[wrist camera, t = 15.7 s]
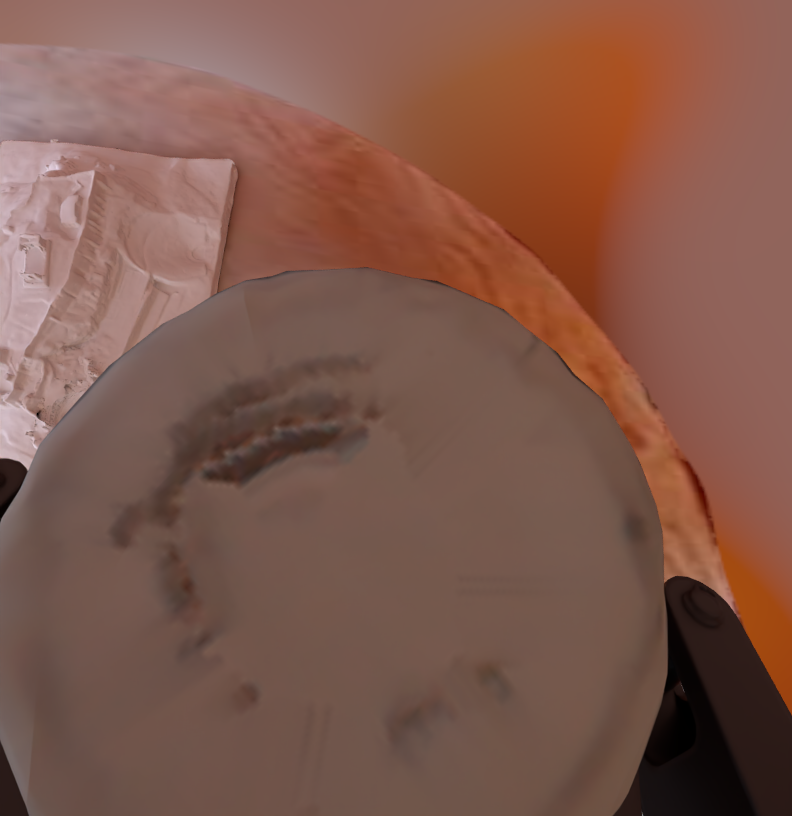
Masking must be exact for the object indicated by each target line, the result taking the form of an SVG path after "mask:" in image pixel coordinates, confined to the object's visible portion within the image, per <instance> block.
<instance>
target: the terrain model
mask: <svg viewBox="0 0 792 816" xmlns="http://www.w3.org/2000/svg"><path fill="white" fill-rule="evenodd" d="M57 142H58V140H53V139H52V140H51V143H43V142H32V141H15V140H14V141H10V140H9V141H2V143H1V145H0V458H9V459H12V460H16V461H19V462H21V463H22V464H23V465H24V466H25V467H26V468H27V470H29V468H30V465H31V463H32V461H33V458H34V456H35V454H36V451H37V449H38V447H39V445H40V443H41V442H42V441H43V440H44V439H45V437H46V436H47V435H48V434H49V433H50V432H51V430H52V429H53V428H54V427H55V426H56V425H57V423H58V422H59V421H60V420H61V419H62V418H63V416H64V415H65V414H66V413H67V412H68V411H69V409H70V408H71V407H72V406H73V405H74V404H75V403H76V402H77V401H78V399H79V398H80V397H81V396H82V395H83V394H84V393H85V392H86V391H87V389H88V388H89V387H90V386H91V385H92V384H93V383H94V382H95V381H96V379H97V378H98V377H99V376H100V375H101V374H102V373H103V372H104V371H105V370H106V368H107V367H108V366H109V365H111V364H112V363H113V362H114V361H116V360H117V359H118V358H120V357H121V356H122V355H123V354H125V353H126V352H127V351H128V350H130V349H131V348H132V347H134V346H135V345H136V344H137V343H139V342H140V341H141V340H142V339H144V338H145V337H146V336H148V335H149V334H150V333H151V332H153V331H154V330H155V329H156V328H158V327H159V326H160V325H162V324H163V323H165V322H167V321H169V320H171V319H173V318H175V317H177V316H179V315H181V314H183V313H185V312H187V311H189V310H190V309H192V308H194V307H195V306H197V305H198V304H200V303H201V302H203V301H205V300H206V299H208V298H209V297H211V296H213V295H214V294H216V293H217V290H218V282H219V280H218V279H219V277H220V268H221V264H222V260H223V254H224V248H225V243H226V236H227V230H228V225H229V218H230V213H231V209H232V205H233V202H234V201H233V199H234V198H233V196H234V190H235V186H236V181H237V180H238V172H237V168H236V167H235V163H234V162H233V161H231V159H230V158H229V159H205V158H201V159H184V158H171V157H162V156H156V155H152V154H146V153H140V152H130V151H125V150H119V149H118V148H116V149H112V148H106V147H97V146H88V145H81V144H74V143H57ZM230 220H231V219H230ZM39 411H40V412H39ZM37 412H38V413H39V416H36V415H37V414H36V413H37Z"/></svg>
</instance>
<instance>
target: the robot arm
mask: <svg viewBox="0 0 792 816" xmlns="http://www.w3.org/2000/svg"><path fill="white" fill-rule="evenodd" d="M27 472H28V470H27V468H26V467H25V466H24V465H23V464H22V463H21V462H19V461H16V460H12V459H9V458H0V522H1V519H2V517H3V515H4V514H5V512H6V511H7V509H8V507H9V506H10V504H11V503H12V501H13V500H14V498H15V496H16V495H17V493H18V492H19V490H20V488H21V486H22V484H23V481H24V479H25V477H26V475H27ZM664 595H665V603H666V610H667V618H668V668H667V678H666V683H665V688H664V693H663V698H662V703H661V706H660V709H659V712H658V715H657V717H656V720H655V723H654V726H653V729H652V732H651V735H650V737H649V740H648V743H647V746H646V749H645V752H644V754H643V757H642V760H641V762H640V765H639V767H638V770H637V772H636V775H635V777H634V780H633V783H632V785H631V788H630V790H629V793H628V794H627V796H626V798H625V800H624V801H623V803H622V805H621V806H620V808H619V809H618V810H617V812H616V813H615V814H614V815H613V816H642V813H643V816H792V715H791V713H790V712H789V710H788V708H787V706H786V704H785V702H784V701H783V699H782V697H781V695H780V694H779V692H778V690H777V688H776V686H775V684H774V683H773V681H772V679H771V677H770V675H769V674H768V672H767V670H766V668H765V666H764V664H763V663H762V661H761V659H760V657H759V656H758V654H757V652H756V650H755V648H754V647H753V645H752V643H751V641H750V639H749V637H748V636H747V634H746V632H745V630H744V628H743V627H742V625H741V623H740V621H739V619H738V617H737V616H736V614H735V613H734V612H733V610H732V609H731V607H730V606H729V605H728V603H727V602H726V601H725V600H724V599H723V598H722V597H720V596H719V595H718V594H717V593H716V592H715V591H714V590H712V589H711V588H709V587H708V586H706V585H704V584H703V583H701V582H699V581H697V580H694V579H692V578H689V577H683V576H675V577H673V578H671V579H668V580H667V581H666V582H665V583H664ZM681 685H682V686H681ZM682 687H683V688H682ZM683 690H684V691H683ZM684 692H685V693H684ZM0 816H29V814H28V811H27V808H26V805H25V802H24V800H23V797H22V795H21V792H20V790H19V787H18V784H17V782H16V779H15V777H14V774H13V772H12V769H11V767H10V764H9V761H8V759H7V756H6V754H5V751H4V749H3V746H2V744H1V741H0Z"/></svg>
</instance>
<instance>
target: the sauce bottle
mask: <svg viewBox="0 0 792 816" xmlns="http://www.w3.org/2000/svg"><path fill="white" fill-rule="evenodd" d="M667 668H668V618H667V610H666V603H665V595H664V554H663V536H662V528H661V523H660V519H659V515H658V511H657V507H656V503H655V501H654V498H653V496H652V493H651V490H650V488H649V485H648V483H647V480H646V477H645V475H644V472H643V470H642V467H641V464H640V462H639V460H638V458H637V456H636V454H635V452H634V450H633V448H632V446H631V444H630V443H629V441H628V439H627V438H626V436H625V434H624V433H623V431H622V429H621V428H620V426H619V424H618V423H617V421H616V419H615V418H614V416H613V415H612V413H611V412H610V410H609V408H608V407H607V405H606V404H605V402H604V401H603V399H602V398H601V397H600V396H599V395H597V394H596V393H595V392H594V391H593V390H592V389H591V388H589V387H588V386H587V385H586V384H585V383H584V382H583V381H581V380H580V379H579V378H578V377H577V376H576V375H574V373H573V372H572V371H571V369H570V368H569V367H568V366H567V364H566V363H565V362H564V360H563V359H562V358H561V357H560V355H559V354H558V353H557V352H556V351H554V350H553V349H552V348H551V347H549V346H548V345H547V344H545V343H544V342H543V341H542V340H540V339H539V338H538V337H536V336H535V335H534V334H533V333H531V332H530V331H529V330H528V329H526V328H525V327H524V326H523V325H521V324H520V323H519V322H518V321H517V320H516V319H514V318H513V317H512V316H511V315H510V314H508V313H507V312H506V311H505V310H504V309H501V308H499V307H497V306H494V305H492V304H490V303H487V302H485V301H483V300H480V299H478V298H476V297H473V296H471V295H469V294H466V293H464V292H462V291H459V290H457V289H455V288H452V287H450V286H448V285H445V284H443V283H440V282H438V281H433V280H425V279H417V278H411V277H407V276H402V275H398V274H394V273H389V272H385V271H381V270H377V269H372V268H368V267H364V268H347V269H331V270H301V271H285V272H282V273H280V274H277V275H274V276H270V277H264V278H258V279H252V280H246V281H243V282H241V283H239V284H237V285H234V286H232V287H230V288H228V289H225V290H223V291H221V292H219V293H216V294H214V295H213V296H211V297H209V298H208V299H206V300H205V301H203V302H201V303H200V304H198V305H197V306H195V307H194V308H192V309H190V310H189V311H187V312H185V313H183V314H181V315H179V316H177V317H175V318H173V319H171V320H169V321H167V322H165V323H163V324H162V325H160V326H159V327H158V328H156V329H155V330H154V331H153V332H151V333H150V334H149V335H148V336H146V337H145V338H144V339H142V340H141V341H140V342H139V343H137V344H136V345H135V346H134V347H132V348H131V349H130V350H128V351H127V352H126V353H125V354H123V355H122V356H121V357H120V358H118V359H117V360H116V361H114V362H113V363H112V364H111V365H109V366H108V367H107V368H106V370H105V371H104V372H103V373H102V374H101V375H100V376H99V377H98V378H97V379H96V381H95V382H94V383H93V384H92V385H91V386H90V387H89V388H88V389H87V391H86V392H85V393H84V394H83V395H82V396H81V397H80V398H79V399H78V401H77V402H76V403H75V404H74V405H73V406H72V407H71V408H70V409H69V411H68V412H67V413H66V414H65V415H64V416H63V418H62V419H61V420H60V421H59V422H58V423H57V425H56V426H55V427H54V428H53V429H52V430H51V432H50V433H49V434H48V435H47V436H46V437H45V439H44V440H43V441H42V442H41V443H40V445H39V447H38V449H37V451H36V454H35V456H34V458H33V461H32V463H31V465H30V468H29V470H28V472H27V475H26V477H25V479H24V481H23V484H22V486H21V488H20V490H19V492H18V493H17V495H16V496H15V498H14V500H13V501H12V503H11V504H10V506H9V507H8V509H7V511H6V512H5V514H4V515H3V517H2V519H1V522H0V741H1V744H2V746H3V749H4V751H5V754H6V756H7V759H8V761H9V764H10V767H11V769H12V772H13V774H14V777H15V779H16V782H17V784H18V787H19V790H20V792H21V795H22V797H23V800H24V802H25V805H26V808H27V811H28V814H29V816H613V815H614V814H615V813H616V812H617V810H618V809H619V808H620V806H621V805H622V803H623V801H624V800H625V798H626V796H627V794H628V793H629V790H630V788H631V785H632V783H633V780H634V777H635V775H636V772H637V770H638V767H639V765H640V762H641V760H642V757H643V754H644V752H645V749H646V746H647V743H648V740H649V737H650V735H651V732H652V729H653V726H654V723H655V720H656V717H657V715H658V712H659V709H660V706H661V703H662V698H663V693H664V688H665V683H666V678H667Z"/></svg>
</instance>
